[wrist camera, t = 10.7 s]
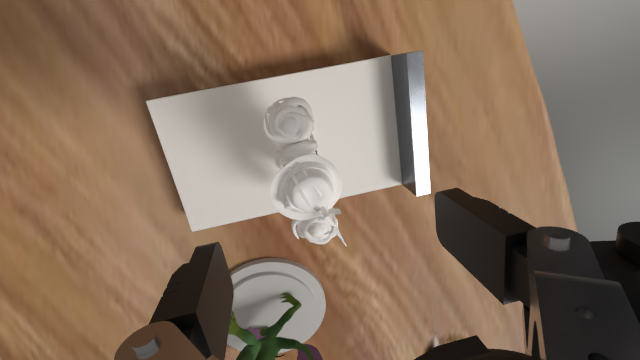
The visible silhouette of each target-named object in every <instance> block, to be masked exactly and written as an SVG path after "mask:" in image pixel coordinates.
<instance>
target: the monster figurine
mask: <svg viewBox="0 0 640 360" xmlns="http://www.w3.org/2000/svg"><path fill="white" fill-rule="evenodd" d="M230 275H231V278H232V282H233V289H234V298H233V305H232V311H231V318H230V325H229V332H228V338H227V344H228V345H229V346H231V347H233V348H235V349H236V350H239V351H241V352H240V354H239V355H238V357H237V359H236V360H275V358H276V357H281V356H284V355H281V356H276V355H277V354H279V353H283V352H286V351H289V350H291V349H297V350H298V357H297V360H323V359H322V357H321V354H320V353H319V351H318V350H317V348H315V347H314V346H312V345H309V344H302V343H304V342H305V341H307V340H308V339H309V338H310V337H311V336H312V335H313V334H314V333H315V332H316V330H317V329H318V328H319V326H320V324H321V322H322V320H323V317H324V314H325V309H326V300H325V295H324V291H323V288H322V286H321V283H320V281H319V280H318V278H317V277H316V276H315V275H314V274H313V273H312V271H310V270H309V269H308V268H306V267H305V266H303V265H301V264H299V263H297V262H294V261H291V260H288V259H282V258H264V259H258V260H254V261H251V262H248V263H246V264H243V265H241V266H240V267H238V268H236V269H235V270H233V271H232V272H231V273H230Z"/></svg>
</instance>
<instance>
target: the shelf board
mask: <svg viewBox="0 0 640 360" xmlns="http://www.w3.org/2000/svg"><path fill="white" fill-rule="evenodd" d="M401 54H402V53H401ZM394 55H397V54H394ZM391 56H392V55H387V56H382V57H377V58H371V59H366V60H361V61H355V62H350V63H344V64H339V65H334V66H328V67H323V68H317V69H312V70H307V71H301V72H296V73H290V74H285V75H280V76H274V77H269V78H264V79H258V80H253V81H247V82H242V83H237V84H231V85H226V86H220V87H215V88H210V89H204V90H199V91H193V92H188V93H183V94H177V95H172V96H167V97H161V98H157V99H153V100H149V101H146V103H147V106H148V109H149V111H150V114H151V117H152V120H153V123H154V125H155V128H156V131H157V134H158V137H159V139H160V142H161V145H162V148H163V151H164V154H165V156H166V159H167V162H168V165H169V168H170V170H171V173H172V176H173V179H174V182H175V184H176V187H177V190H178V193H179V196H180V199H181V201H182V204H183V207H184V210H185V213H186V215H187V218H188V221H189V224H190V227H191V230H192V232H193V231H198V230H202V229H206V228H211V227H215V226H220V225H224V224H229V223H233V222H237V221H242V220H246V219H251V218H255V217H259V216H264V215H268V214H273V213H277V212H279V211H278V210H277V209H276V208H275V207H274V205H273V203H272V201H271V198H270V187H271V184H272V181H273V179H274V178H275V176H276V175H277V173H278V172H279V171H280V170H281V169H280V167H279V161H280V159H281V158H279V157H278V155H277V153H276V151H277V150H280V149H281V147H280V145H276V144H274V143H272V142H271V141H270V139H269V138H268V137H267V136H266V135H265V132H264V130H263V117H264V115H265V113H266V112H267V109H268V107H270V106H272V104H273V103H274V102H276V101H278V100H280V99H283V98H291V97H294V96H295V97H298V98H302V99H304V100H305V101H306V102H307V103H308V104H309V105H310V107H311V109H312V112H313V115H314V130H313V131H312V134H313V137H314V140H316V142H317V145H318V153H319V156H322V157H324V158H325V159H327V160H328V161H330V162H331V163H332V164H333V165H334V166H335V167H336V169H337V170H338V171H339V173H340V175H341V178H342V182H343V189H342V193H341V195H340V198H343V197H348V196H352V195H357V194H361V193H365V192H370V191H374V190H379V189H383V188H388V187H392V186H396V185H401V184H402V178H401V167H400V155H399V144H398V133H397V121H396V110H395V98H394V87H393V75H392V64H391ZM283 101H284V100H283ZM283 101H280V102H278V103H282V102H283ZM269 116H270V114H269V113H266V119H267V125H268V128H269V131H271V129H270V125H269ZM310 117H311V116H310ZM308 138H309V141H310V137H308Z"/></svg>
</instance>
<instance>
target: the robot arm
mask: <svg viewBox="0 0 640 360" xmlns="http://www.w3.org/2000/svg"><path fill="white" fill-rule="evenodd" d="M435 217H436V232H437V236H438V239H439V241H440V243H441V244H442V246H443V247H444V248H445V249H446V250H447V251H448V252H450V253H451V254H452V255H453V256H454V257H455V258H456V259H457V260H458V261H459V262H460V263H461V264H462V265H463V266H464V267H465V268H466V269H467V270H468V271H469V272H470V273H471V274H472V275H473V276H474V277H475V278H476V279H477V280H478V281H479V282H480V283H482V284H483V285H484V286H485V287H486V288H487V289H488V290H489V291H490V292H491V293H492V294H493V295H494V296H495V297H496V298H497V299H498V300H499V301H500V302H501V303H502V304H503V305H504V304H508V303H512V302H515V301H519V300H520V301H521V302H522V303H523V310H522V316H523V331H524V346H525V354H523V353H519V352H515V351H509V350H501V349H487V348H486V346H485V345H484V344H483V343H482V341H481V340H480V339H479V338H478V336H477V335H476V336H472V337H468V338H465V339H461V340H458V341H454V342H450V343H447V344H443V345H440V346H436V347H435V348H433V349H431V350H430V351H428V352H426V353H424V354H423V355H421V356H419V357H418V358H416V359H414V360H640V222H629V223H625V224H622V225H620V226H619V228H618V232H617V238H616V241H592V242H589V240H588V239H587V238H586V237H585V236H583V235H582V234H580V233H578V232H575V231H573V230H570V229H566V228H561V227H551V226H546V227H538V228H536V227H534V226H532V225H530V224H528V223H527V222H525V221H523V220H521V219H520V218H518V217H516V216H514V215H513V214H511V213H510V214H509V213H508V212H507V211H506V210H504V209H502V208H499V207H498V206H497V205H495V204H493V203H491V202H490V201H487V200H484V199H480V198H476V197H473V196H471V195H469V194H467V193H466V192H464V191H462V190H461V189H459V188H453V189H449V190H444V191H440V192H437V193H436V194H435ZM233 298H234V289H233V282H232V278H231V275H230V272H229V269H228V266H227V263H226V260H225V256H224V253H223V250H222V247H221V245H220V243H219V242H215V243H211V244H207V245H202V246H198V247H196V248H195V250H194V253H193V255H192V257H191V260H190V262H189V263H186V264H183V265H182V266H181V267H180V268H179V269H178V270H177V271H176V272H175V273H174V274H173V275H172V276H171V278H170V280H169V283H168V285H167V288H166V289H165V291H164V293H163V297H161V299H160V302H159V304H158V306H157V308H156V310H155V312H154V314H153V316H152V319H151V321H150V323H149V325H147V326H144V327H142V328H141V329H139V330H137V331H136V332H134V333H133V334H132V335H130V336H129V337H128V338H127V339H126V340H125V341H124V342H123V343H122V344H121V345H120V347H119V348H118V350H117V352H116V354H115V357H114V360H224V359H225V352H226V345H227V338H228V332H229V325H230V318H231V311H232V305H233Z"/></svg>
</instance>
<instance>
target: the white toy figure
mask: <svg viewBox="0 0 640 360" xmlns="http://www.w3.org/2000/svg"><path fill="white" fill-rule="evenodd" d="M283 100H284V101H283ZM280 101H283V102H282V103H278V102H280ZM266 113H269V114H270V116H269V125H270V129H271V131H269V128H268V125H267V119H266ZM266 113H265V115H264V117H263V130H264V132H265V135H266V136H267V137H268V138H269V139H270V141H271V142H272V143H274V144H276V145H280V147H281V149H280V150H277V151H276V153H277V155H278V157H279V158H281V159H280V161H279V167H280V169H281V170H280V171H279V172H278V173H277V175H276V176H275V178H274V179H273V181H272V184H271V187H270V198H271V201H272V203H273V205H274V207H275V208H276V209H277V210H278V211H279V212H280V213H281V214H283V215H284V216H286V217H288V218H291V219H293V222H292V232H293V234H294V235H295V236H296V238H297V239H299V237H301V238H306V239H307V240H308V241H309V242H311V243H312V242H313V243H316V244H325V243H327V242H328V241H329V240H330V239H331V238H333V237H335V236H336V234H337V236H338V237H339V238H340V239H341V240H342V242H343V243H344V244H345V242H344V240H343V238H342V236H341V234H340V231H339V230H338V221H337V219H336V217H335V214H341V212H340V209H333V207H332V206H333V205H334V204H335V203H336V202H337V201H338V199H339V198H340V195H341V193H342V189H343V182H342V178H341V175H340V173H339V171H338V170H337V169H336V167H335V166H334V165H333V164H332V163H331V162H330V161H328V160H327V159H325V158H324V157H322V156H319V153H318V145H317V142H316V140H314V137H313V134H312V131H313V130H314V115H313V112H312V109H311V107H310V105H309V104H308V103H307V102H306V101H305V100H304V99H302V98H298V97H295V96H294V97H291V98H283V99H280V100H278V101H276V102H274V103H273V104H272V106H270V107H268V109H267V112H266ZM310 116H311V117H310ZM308 137H310V141H309V138H308ZM331 208H332V209H331ZM333 218H334V219H333ZM296 224H297V225H298V229H297V226H296ZM295 228H296V229H295ZM332 229H333V230H332ZM298 230H299V231H298ZM331 230H332V231H331ZM296 231H297V233H298V235H299V237H298V235H297V233H296ZM300 234H301V235H302V236H301V235H300ZM345 246H346V247H347V245H346V244H345Z"/></svg>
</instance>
